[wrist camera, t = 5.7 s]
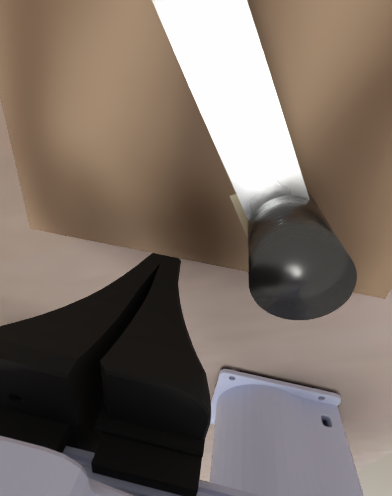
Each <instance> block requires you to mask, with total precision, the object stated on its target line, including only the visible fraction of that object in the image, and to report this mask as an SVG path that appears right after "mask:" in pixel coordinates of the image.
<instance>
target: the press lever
mask: <svg viewBox="0 0 392 496" xmlns="http://www.w3.org/2000/svg"><path fill="white" fill-rule="evenodd" d="M152 2H153V4H154V6H155V8H156V11H157V13H158V15H159V18H160V20H161V22H162V24H163V27H164V29H165V31H166V34H167V36H168V38H169V40H170V43H171V45H172V47H173V50H174V52H175V54H176V57H177V59H178V61H179V63H180V66H181V68H182V70H183V73H184V75H185V77H186V79H187V82H188V84H189V86H190V89H191V91H192V93H193V95H194V98H195V100H196V102H197V105H198V107H199V109H200V111H201V114H202V116H203V118H204V121H205V123H206V125H207V127H208V130H209V132H210V134H211V137H212V139H213V141H214V144H215V146H216V148H217V150H218V153H219V155H220V157H221V160H222V162H223V164H224V166H225V169H226V171H227V173H228V176H229V178H230V180H231V182H232V185H233V187H234V189H235V192H236V194H237V196H238V198H239V201H240V203H241V205H242V208H243V210H244V212H245V215H246V217H247V220H248V264H249V288H250V292H251V295H252V297H253V298H254V300H255V301H256V303H257V304H258V305H259V306H260V307H261V308H262V309H264V310H265V311H267V312H268V313H270V314H272V315H275V316H277V317H280V318H284V319H290V320H308V319H314V318H318V317H321V316H324V315H327V314H329V313H331V312H333V311H335V310H336V309H338V308H339V307H340V306H342V305H343V304H344V303H345V302H346V301H347V300H348V299H349V297H350V296H351V294H352V293H353V291H354V288H355V286H356V281H357V272H356V268H355V265H354V263H353V261H352V259H351V257H350V256H349V254H348V253H347V251H346V250H345V248H344V246H343V245H342V243H341V242H340V240H339V238H338V237H337V235H336V234H335V232H334V230H333V229H332V227H331V226H330V224H329V223H328V221H327V219H326V218H325V216H324V215H323V213H322V211H321V210H320V208H319V207H318V205H317V203H316V202H315V200H314V199H313V197H312V195H311V194H310V193H309V192H308V191H307V189H306V186H305V183H304V180H303V177H302V173H301V170H300V167H299V164H298V161H297V158H296V154H295V151H294V148H293V145H292V142H291V139H290V135H289V132H288V129H287V126H286V123H285V120H284V116H283V113H282V110H281V107H280V104H279V100H278V97H277V94H276V91H275V88H274V85H273V81H272V78H271V75H270V72H269V69H268V66H267V62H266V59H265V56H264V53H263V50H262V47H261V43H260V40H259V37H258V34H257V31H256V27H255V24H254V21H253V18H252V15H251V12H250V8H249V5H248V2H247V0H152Z"/></svg>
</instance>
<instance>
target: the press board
mask: <svg viewBox="0 0 392 496" xmlns="http://www.w3.org/2000/svg"><path fill="white" fill-rule="evenodd" d="M247 2H248V5H249V8H250V12H251V15H252V18H253V21H254V24H255V27H256V31H257V34H258V37H259V40H260V43H261V47H262V50H263V53H264V56H265V59H266V62H267V66H268V69H269V72H270V75H271V78H272V81H273V85H274V88H275V91H276V94H277V97H278V100H279V104H280V107H281V110H282V113H283V116H284V120H285V123H286V126H287V129H288V132H289V135H290V139H291V142H292V145H293V148H294V151H295V154H296V158H297V161H298V164H299V167H300V170H301V173H302V177H303V180H304V183H305V186H306V189H307V191H308V192H309V193H310V194H311V195H312V197H313V199H314V200H315V202H316V203H317V205H318V207H319V208H320V210H321V211H322V213H323V215H324V216H325V218H326V219H327V221H328V223H329V224H330V226H331V227H332V229H333V230H334V232H335V234H336V235H337V237H338V238H339V240H340V242H341V243H342V245H343V246H344V248H345V250H346V251H347V253H348V254H349V256H350V257H351V259H352V261H353V263H354V265H355V268H356V272H357V281H356V286H355V288H354V291H353V292H354V293H359V294H364V295H369V296H374V297H379V298H384V299H385V297H386V296H387V294H388V293H389V292H390V290H391V289H392V0H247ZM0 97H1V102H2V106H3V111H4V115H5V119H6V124H7V128H8V132H9V137H10V141H11V146H12V150H13V154H14V159H15V163H16V168H17V172H18V176H19V181H20V185H21V189H22V194H23V198H24V203H25V207H26V211H27V216H28V220H29V224H30V229H35V230H40V231H45V232H50V233H55V234H60V235H65V236H71V237H76V238H81V239H86V240H91V241H96V242H101V243H106V244H111V245H116V246H121V247H126V248H131V249H136V250H141V251H146V252H152V253H157V254H162V255H167V256H172V257H177V258H182V259H187V260H192V261H197V262H202V263H207V264H212V265H217V266H222V267H227V268H233V269H238V270H243V271H248V272H249V264H248V220H247V217H246V215H245V212H244V210H243V208H242V205H241V203H240V201H239V198H238V196H237V194H236V192H235V189H234V187H233V185H232V182H231V180H230V178H229V176H228V173H227V171H226V169H225V166H224V164H223V162H222V160H221V157H220V155H219V153H218V150H217V148H216V146H215V144H214V141H213V139H212V137H211V134H210V132H209V130H208V127H207V125H206V123H205V121H204V118H203V116H202V114H201V111H200V109H199V107H198V105H197V102H196V100H195V98H194V95H193V93H192V91H191V89H190V86H189V84H188V82H187V79H186V77H185V75H184V73H183V70H182V68H181V66H180V63H179V61H178V59H177V57H176V54H175V52H174V50H173V47H172V45H171V43H170V40H169V38H168V36H167V34H166V31H165V29H164V27H163V24H162V22H161V20H160V18H159V15H158V13H157V11H156V8H155V6H154V4H153V2H152V0H0Z"/></svg>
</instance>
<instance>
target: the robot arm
mask: <svg viewBox="0 0 392 496" xmlns="http://www.w3.org/2000/svg"><path fill="white" fill-rule="evenodd" d="M180 264H181V260H180V259H179V258H175V257H170V256H165V255H160V254H155V253H153V254H151V255H150V256H148V257H147V258H146V259H145V260H143V261H142V262H141V263H140V264H138V265H137V266H136V267H134V268H133V269H132V270H130V271H129V272H127V273H126V274H125V275H123V276H122V277H120V278H119V279H117V280H116V281H114V282H113V283H111V284H109V285H108V286H106V287H104V288H103V289H101V290H99V291H97V292H95V293H94V294H92V295H90V296H88V297H86V298H83V299H81V300H79V301H76V302H74V303H72V304H69V305H67V306H65V307H62V308H59V309H57V310H54V311H51V312H48V313H45V314H42V315H39V316H36V317H33V318H29V319H26V320H22V321H19V322H15V323H11V324H8V325H3V326H1V327H0V496H363V492H362V489H361V485H360V482H359V478H358V475H357V471H356V468H355V464H354V461H353V458H352V454H351V451H350V447H349V444H348V441H347V437H346V434H345V430H344V427H343V423H342V420H341V417H340V413H339V410H338V407H337V406H338V405H339V404H340V403H341V398H340V395H338V394H336V393H333V392H328V391H324V390H319V389H315V388H310V387H306V386H301V385H297V384H292V383H288V382H283V381H279V380H274V379H270V378H265V377H261V376H256V375H252V374H247V373H243V372H238V371H234V370H229V369H222V370H221V371H220V373H219V377H218V380H217V383H216V387H215V390H214V393H213V397H212V400H211V401H210V393H209V388H208V383H207V377H206V373H205V371H204V369H203V367H202V365H201V363H200V361H199V359H198V357H197V354H196V352H195V350H194V347H193V345H192V342H191V339H190V337H189V334H188V331H187V328H186V325H185V321H184V318H183V314H182V309H181V304H180V298H179V290H178V279H179V272H180ZM210 423H212V424H215V427H214V439H213V450H212V461H211V472H210V482H206V481H202V480H199V477H200V469H201V460H202V456H203V451H204V442H205V437H206V434H207V431H208V428H209V425H210Z"/></svg>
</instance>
